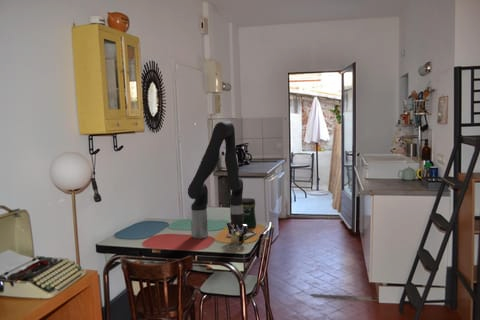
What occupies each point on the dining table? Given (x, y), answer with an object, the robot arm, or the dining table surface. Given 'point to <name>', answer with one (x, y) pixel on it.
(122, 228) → the dining table surface
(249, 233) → the hinge board
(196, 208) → the robot arm
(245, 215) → the coffee jar
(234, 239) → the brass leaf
